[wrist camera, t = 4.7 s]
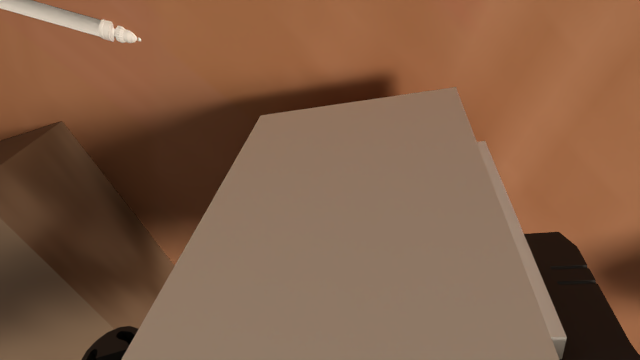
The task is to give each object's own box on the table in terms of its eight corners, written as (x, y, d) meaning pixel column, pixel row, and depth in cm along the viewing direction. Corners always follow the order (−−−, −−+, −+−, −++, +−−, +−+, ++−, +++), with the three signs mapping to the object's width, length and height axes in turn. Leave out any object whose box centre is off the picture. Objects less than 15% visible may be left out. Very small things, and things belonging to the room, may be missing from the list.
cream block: (459, 239, 15) (552, 661, 7) (303, 248, 16) (222, 606, 8) (455, 87, 11) (633, 553, 3) (260, 115, 13) (44, 494, 5)
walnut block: (202, 294, 23) (164, 378, 19) (53, 313, 27) (-5, 387, 23) (67, 117, 17) (-32, 187, 13) (-104, 173, 21) (-223, 241, 17)
